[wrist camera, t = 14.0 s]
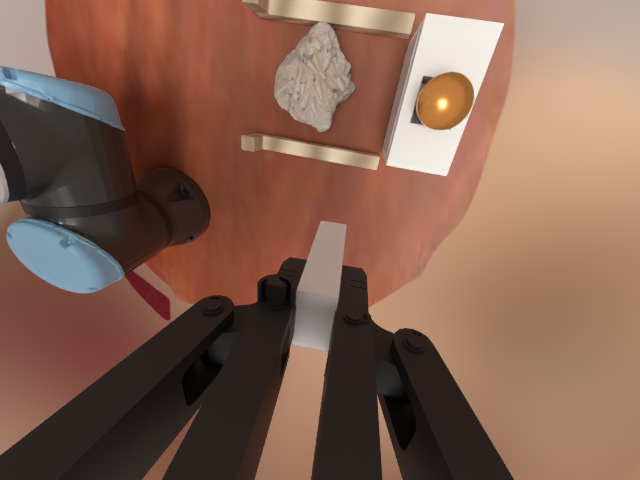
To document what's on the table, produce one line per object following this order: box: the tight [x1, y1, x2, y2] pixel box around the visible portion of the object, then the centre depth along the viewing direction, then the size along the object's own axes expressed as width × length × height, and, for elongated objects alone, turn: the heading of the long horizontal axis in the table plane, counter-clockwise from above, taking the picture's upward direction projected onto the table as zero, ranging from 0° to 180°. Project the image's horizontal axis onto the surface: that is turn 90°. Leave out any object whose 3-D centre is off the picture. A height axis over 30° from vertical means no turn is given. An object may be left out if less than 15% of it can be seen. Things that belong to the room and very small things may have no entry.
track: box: [241, 0, 415, 170], centre depth 36 cm, size 20×19×6 cm
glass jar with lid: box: [414, 72, 474, 130], centre depth 28 cm, size 5×5×8 cm
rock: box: [274, 21, 356, 132], centre depth 36 cm, size 11×11×6 cm
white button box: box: [382, 13, 504, 176], centre depth 32 cm, size 7×14×12 cm, turn 172°
